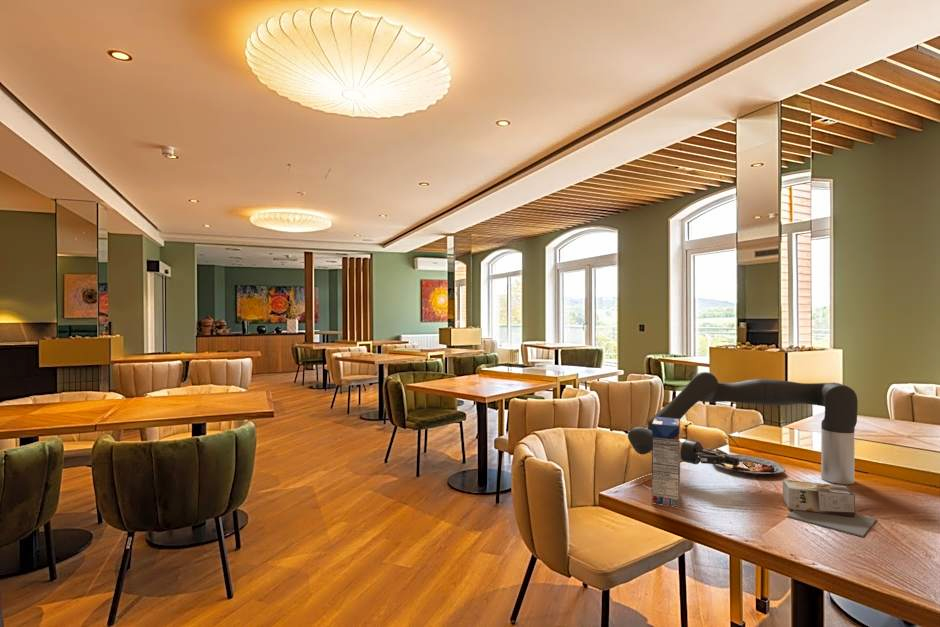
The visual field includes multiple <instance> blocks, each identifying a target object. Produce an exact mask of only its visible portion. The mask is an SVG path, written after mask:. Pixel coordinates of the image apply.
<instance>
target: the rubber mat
mask: <svg viewBox="0 0 940 627" xmlns="http://www.w3.org/2000/svg"><path fill="white" fill-rule="evenodd" d="M786 517H787V518H790V519H793V520H797V521H800V522H805V523H809V524H812V525H816V526H819V527H823V528H827V529H831V530H835V531H838V532H841V531H842V533H846V534H849V533H850V535H852V534H853V536H856V535H857V537H859V538H860V537H861V538H864V537H865V536H866V534H867V533H868V532H869V531H870V529H871V528H872V527H873V525H874V524H875V523H876V522H875V521H877V518H873V517H868V516H864V515H861V514H856V513H855V517H851V516H843V515H835V514H827V513H819V512H811V511H803V510H795V509H793V510H792V511H791V512H790V513H789V514H788V515H787V516H786ZM874 522H875V523H874ZM871 526H872V527H871ZM867 531H868V532H867Z"/></svg>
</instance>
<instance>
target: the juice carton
mask: <svg viewBox="0 0 940 627" xmlns="http://www.w3.org/2000/svg"><path fill="white" fill-rule="evenodd" d="M680 438H681V419H677V418H665V417H655V418H654V420H653V423H652V451H651V504H652V503H656V504H663V505H669V506H674V507H673V508H675V507H679V508H680V499H679V498H681V497H680V496H681V494H680V493H681V486H680V485H681V461H680Z"/></svg>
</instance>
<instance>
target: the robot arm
mask: <svg viewBox="0 0 940 627" xmlns="http://www.w3.org/2000/svg"><path fill="white" fill-rule="evenodd" d="M699 402H702V403H714V402H715V403H721V402H722V403H724V402H725V403H728V402H729V403H740V404H741V403H742V404H754V405H762V406H781V407H782V406H790V405H799V404H801V405H812V406H813V405H814V406H820V407H824V417H823V419H822V420H821V423H820V424H821V428H820V429H821V431H820V432H821V434H820V435H821V441H820V442H821V443H820V445H821V446H820V447H821V448H820V449H821V451H820V452H821V455H820V456H821V457H820V461H821V463H820V464H821V465H820V468H821V471H820V473H821V474H820V476H821V477H820V478H821V479H822V480H824V481H827V482H830V483H834V484H837V485H853V484H855V453H856V452H855V450H856V449H855V446H856V445H855V444H856V443H855V442H856V439H855V430H856V429H855V428H856V425H857V423H858V409H859V408H858V406H859V405H858V404H859V403H858V396H857V394H856V391H855V390H854V389H853V388H851V387H850V386H848V385H845V384H843V383H839V382H817V383H813V382H811V383H809V382H808V383H807V382H804V383H803V382H795V381H791V380H789V381H788V380H783V379H782V380H780V379H771V378H769V379H768V378H754V379H747V380H742V381H736V382H719V381H718V378H717V376H716V375H714V374H713V373H710V372H708V371H707V372H706V371H701V372H698V373H696V374H695V375H694V376H693V377H692V378H691V380H690V381H689V382H688V384H687V385H686V386H685V387H684V388H683V389H682V390H681V391H680V392H679V393H678V394H677V395H676V396H675V397H674V398H673V399H672V400H671V401H669V402H668V404H666V405H665V406H664V407H662V408H661V409H660V410H659V411H658V412H656V413H655V414H654V415H653V416H652V417H650V418H649V420H648V421H647V428H646V427H642V426H634V427H632V428H630V429H629V430H628V432H627V439H628V440H629V443H630V445H631V446H632V448H633V450H634V451H635V452H636V453H637V454H639V455H647V454H649V453H652V423H653V420H654V418H655V417H665V418H677V419H680V420H681V419H682V418H683V417H684V416H685V415H686V413H688V411H689V410H690V409H691V408H692V407H694V406H695V405H696V404H697V403H699ZM728 454H729V453H727V452H725V451H723V450H721V449H718V448H715V450H714V449H712V448H709V447H706V448H704V447H703V445H702V443H701V442H700V441H697V440H691V439H686V438H681V437H680V462H683V463H687V464H692V465H698V464H700V463H701V464H703V465H704V464H706V465H715V464H718V465H719V464H730V465H734V466H738V465H739V464H741V462H740V460H739V458H735V457H730V456H727V455H728Z"/></svg>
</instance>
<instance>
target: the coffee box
mask: <svg viewBox="0 0 940 627" xmlns="http://www.w3.org/2000/svg"><path fill="white" fill-rule="evenodd" d="M782 500H783V502H784V503H785V505H786V506H787V508H788V509H789V510H803V511H811V512H819V513H827V514H835V515H843V516H851V517H855V514H856V494H854V493H853V492H852V491H851V490H850V489H849V488H848V487H847V486H845V485H842V484H832V483H831V484H830V483H829V484H828V483H821V482H810V481H800V480H791V479H790V480H789V479H782Z"/></svg>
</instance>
